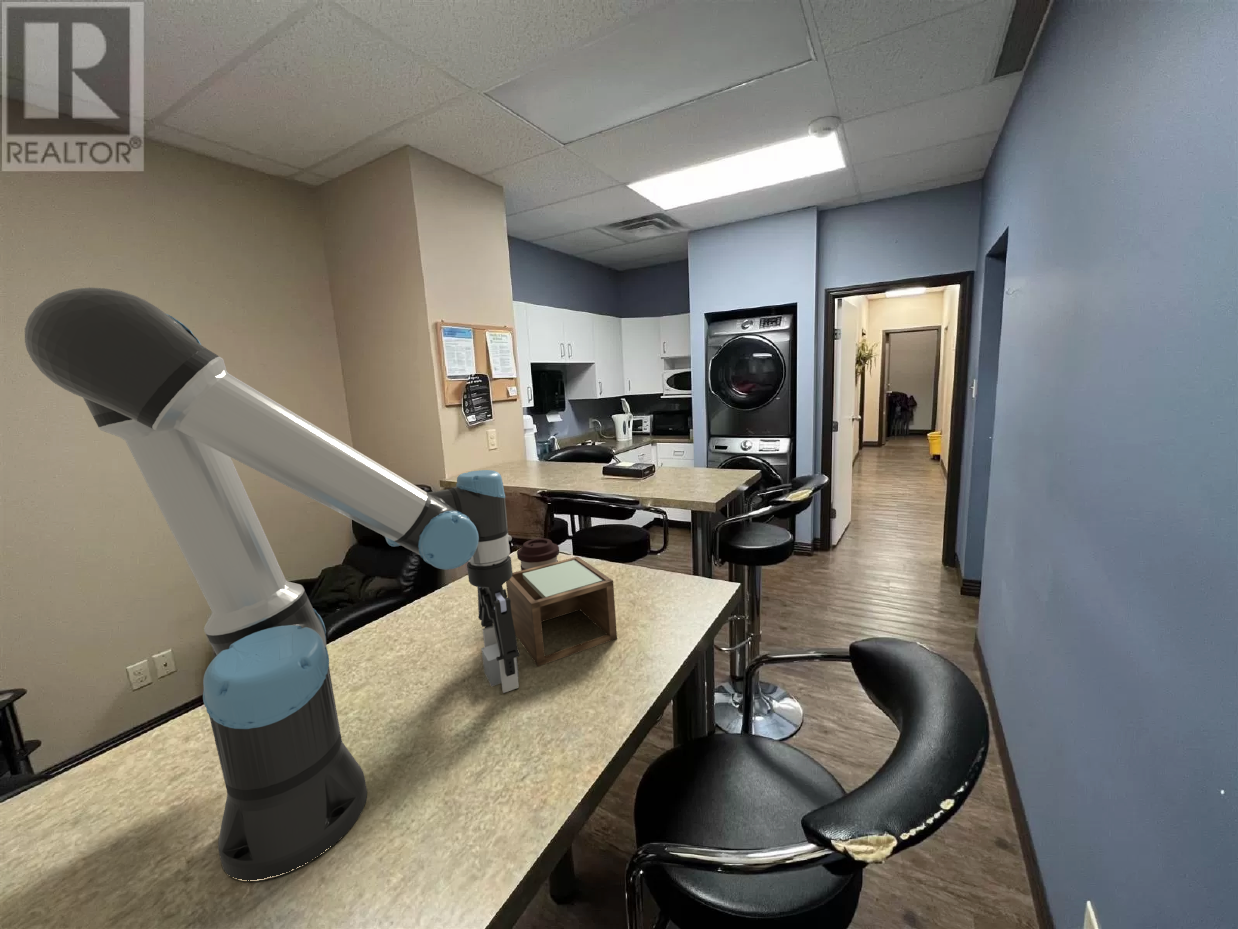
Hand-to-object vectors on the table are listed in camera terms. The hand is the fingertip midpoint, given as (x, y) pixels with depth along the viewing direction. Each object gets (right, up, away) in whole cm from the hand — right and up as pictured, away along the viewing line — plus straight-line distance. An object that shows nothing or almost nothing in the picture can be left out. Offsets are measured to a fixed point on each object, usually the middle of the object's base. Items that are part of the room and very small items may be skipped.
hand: (501, 673), depth 88 cm
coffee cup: (+3, +5, +29) cm, 29 cm away
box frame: (+10, +3, +13) cm, 16 cm away
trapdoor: (+10, +14, +12) cm, 21 cm away
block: (0, 0, 0) cm, 0 cm away
